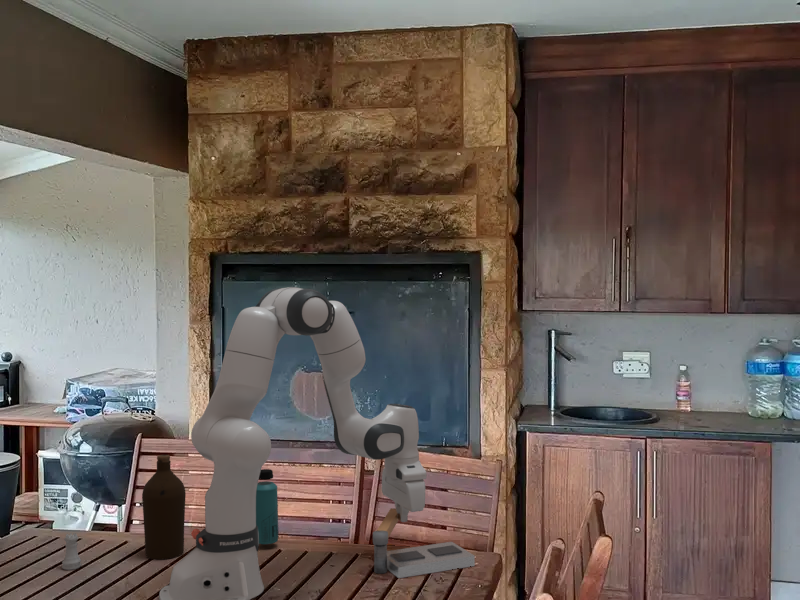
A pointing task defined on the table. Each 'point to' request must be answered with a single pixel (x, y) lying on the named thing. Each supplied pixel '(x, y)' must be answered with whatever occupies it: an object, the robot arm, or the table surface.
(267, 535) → the beverage bottle
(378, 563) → the block
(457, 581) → the table surface
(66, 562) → the rook chess piece
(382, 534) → the swing bar
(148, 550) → the olive oil
